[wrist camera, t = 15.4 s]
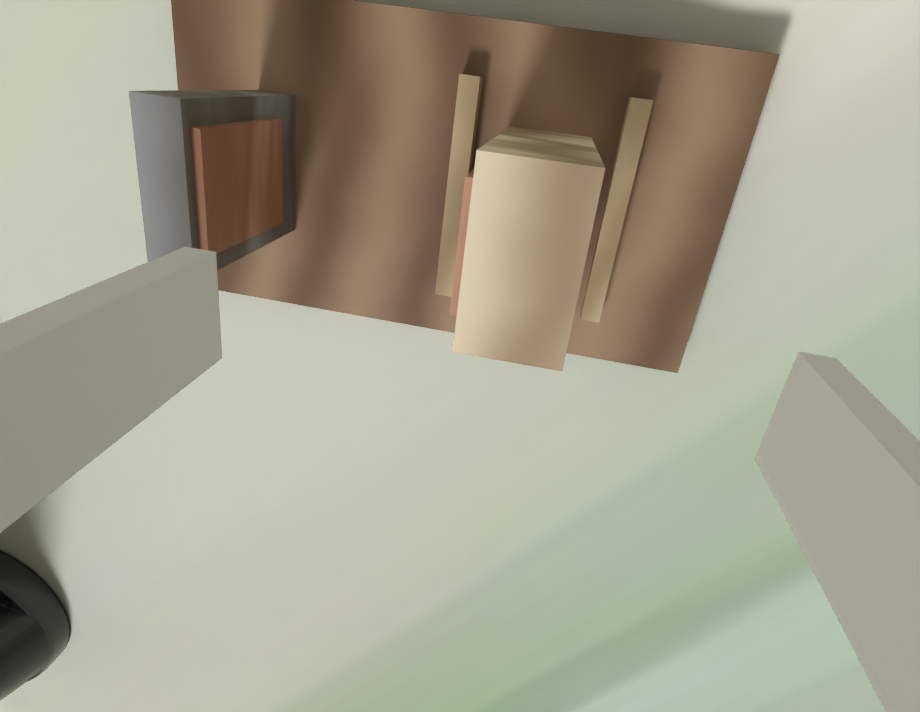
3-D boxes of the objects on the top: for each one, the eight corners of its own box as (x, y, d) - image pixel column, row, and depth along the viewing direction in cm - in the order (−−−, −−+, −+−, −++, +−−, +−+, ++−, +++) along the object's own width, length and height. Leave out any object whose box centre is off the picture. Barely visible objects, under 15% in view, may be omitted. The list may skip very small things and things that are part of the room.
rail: (207, 278, 37) (68, 352, 27) (187, -19, 30) (-11, -72, 20) (673, 361, 34) (718, 480, 24) (769, 55, 27) (890, 37, 17)
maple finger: (483, 261, 32) (441, 349, 21) (502, 125, 29) (463, 148, 18) (564, 274, 32) (562, 371, 21) (591, 137, 29) (605, 167, 18)
